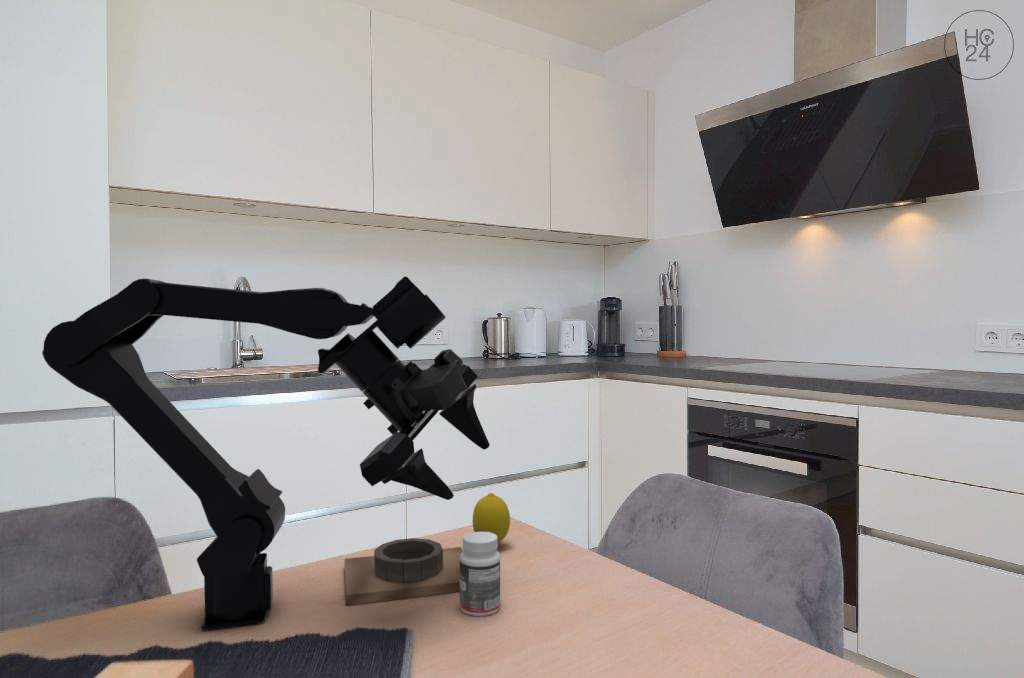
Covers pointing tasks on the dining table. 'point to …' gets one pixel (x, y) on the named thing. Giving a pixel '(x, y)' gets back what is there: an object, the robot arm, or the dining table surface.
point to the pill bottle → (480, 574)
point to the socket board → (392, 590)
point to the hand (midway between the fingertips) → (470, 471)
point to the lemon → (491, 516)
